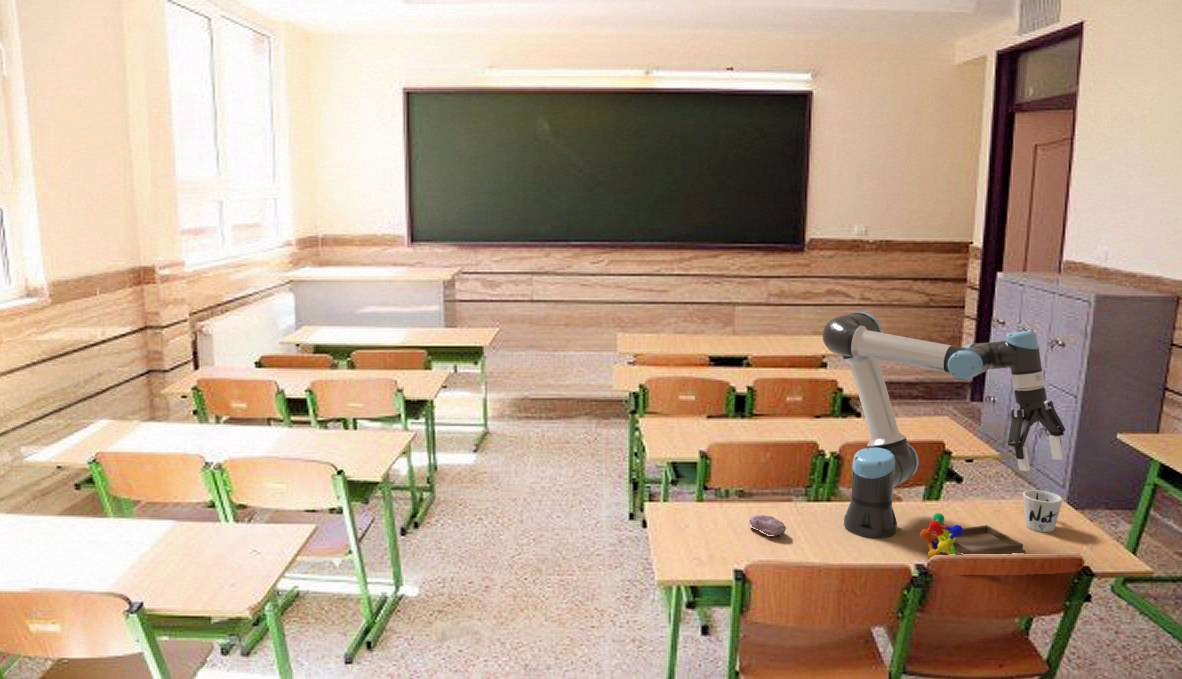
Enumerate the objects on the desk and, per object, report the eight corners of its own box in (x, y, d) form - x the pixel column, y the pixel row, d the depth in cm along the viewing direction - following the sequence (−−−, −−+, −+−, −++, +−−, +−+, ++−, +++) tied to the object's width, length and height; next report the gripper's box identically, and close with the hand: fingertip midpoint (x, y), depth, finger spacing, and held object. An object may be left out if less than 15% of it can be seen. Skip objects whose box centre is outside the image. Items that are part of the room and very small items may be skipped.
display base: (934, 538, 241) (935, 530, 240) (983, 531, 245) (984, 523, 245) (973, 561, 225) (974, 553, 225) (1025, 554, 230) (1025, 545, 229)
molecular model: (964, 567, 222) (967, 526, 220) (940, 569, 221) (942, 527, 219) (941, 550, 233) (943, 510, 232) (917, 551, 232) (919, 512, 231)
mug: (1023, 532, 245) (1026, 500, 243) (1014, 513, 259) (1016, 483, 257) (1063, 536, 242) (1066, 503, 240) (1051, 517, 256) (1054, 486, 254)
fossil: (771, 543, 238) (771, 526, 237) (741, 526, 251) (741, 510, 250) (793, 538, 242) (793, 521, 241) (762, 521, 254) (762, 505, 253)
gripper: (1010, 396, 216) (1022, 476, 217) (1072, 379, 227) (1083, 455, 227) (985, 396, 223) (998, 473, 223) (1046, 379, 233) (1058, 453, 234)
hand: (1041, 464), depth 225 cm, fingers open, 13 cm apart
